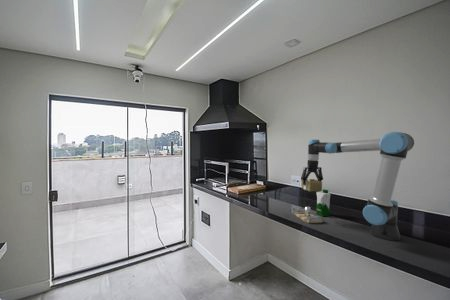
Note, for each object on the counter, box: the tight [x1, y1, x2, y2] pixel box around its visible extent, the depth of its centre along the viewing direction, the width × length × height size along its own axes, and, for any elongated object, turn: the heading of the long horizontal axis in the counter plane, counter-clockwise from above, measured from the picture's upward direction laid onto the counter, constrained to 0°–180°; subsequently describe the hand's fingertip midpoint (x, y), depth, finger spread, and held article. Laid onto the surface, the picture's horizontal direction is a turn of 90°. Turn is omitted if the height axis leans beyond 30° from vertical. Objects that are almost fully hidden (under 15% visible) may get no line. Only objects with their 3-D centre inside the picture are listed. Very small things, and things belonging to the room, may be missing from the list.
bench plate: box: [293, 212, 324, 224], centre depth 158 cm, size 19×12×2 cm, turn 12°
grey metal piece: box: [294, 206, 323, 221], centre depth 158 cm, size 19×10×7 cm, turn 12°
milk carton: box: [315, 189, 331, 218], centre depth 167 cm, size 9×9×20 cm
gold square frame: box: [301, 178, 323, 192], centre depth 156 cm, size 10×10×7 cm
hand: (311, 189), depth 157 cm, fingers closed on gold square frame, 10 cm apart
